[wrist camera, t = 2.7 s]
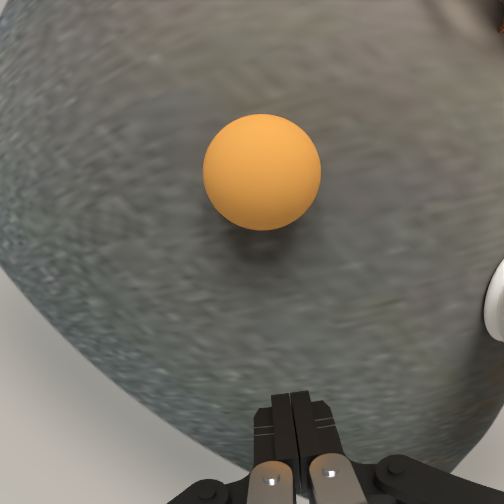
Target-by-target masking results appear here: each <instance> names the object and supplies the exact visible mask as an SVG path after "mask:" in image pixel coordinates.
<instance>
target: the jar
mask: <svg viewBox="0 0 504 504" xmlns="http://www.w3.org/2000/svg"><path fill="white" fill-rule="evenodd" d="M484 320H485V325H486V328H487V331H488V332H489V334H490V335H491V336H492V337H493V338H494V339H496V340H498V341H503V342H504V259H503V260H502V262H501V263H500V265H499V266H498V268H497V269H496V271H495V273H494V275H493V277H492V279H491V282H490V284H489V287H488V291H487V294H486V298H485V305H484Z"/></svg>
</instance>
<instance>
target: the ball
mask: <svg viewBox="0 0 504 504" xmlns="http://www.w3.org/2000/svg"><path fill="white" fill-rule="evenodd" d="M203 180H204V186H205V189H206V192H207V195H208V197H209V199H210V201H211V202H212V204H213V205H214V207H215V208H216V209H217V210H218V211H219V213H221V214H222V215H223V216H224V217H225V218H226V219H228V220H229V221H231V222H232V223H234V224H236V225H238V226H241V227H244V228H247V229H252V230H272V229H277V228H280V227H283V226H286V225H288V224H290V223H292V222H293V221H295V220H297V219H298V218H299V217H300V216H302V215H303V214H304V213H305V212H306V210H307V209H308V208H309V207H310V205H311V204H312V202H313V201H314V199H315V197H316V195H317V192H318V189H319V185H320V180H321V165H320V159H319V156H318V153H317V150H316V148H315V146H314V144H313V142H312V141H311V139H310V138H309V137H308V135H307V134H306V133H305V132H304V131H303V130H302V129H301V128H300V127H298V126H297V125H295V124H294V123H292V122H290V121H289V120H287V119H284V118H281V117H278V116H274V115H268V114H255V115H249V116H245V117H242V118H239V119H237V120H235V121H233V122H231V123H230V124H228V125H227V126H225V127H224V128H223V129H222V130H221V131H220V132H219V133H218V134H217V135H216V136H215V138H214V139H213V140H212V142H211V144H210V145H209V147H208V149H207V152H206V155H205V159H204V163H203Z"/></svg>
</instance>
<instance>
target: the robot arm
mask: <svg viewBox="0 0 504 504" xmlns="http://www.w3.org/2000/svg"><path fill="white" fill-rule="evenodd" d="M290 398H291V404H290ZM271 402H272V407H269V408H259V409H258V411H257V413H256V415H255V416H254V466H253V469H252V471H251V472H250V473H249V475H247V476H246V477H245V478H243V479H242V480H239V481H236V482H233V483H229V484H223V483H222V482H220V481H217V480H213V479H204V480H200V481H198V482H195V483H194V484H192V485H191V486H190V487H188V488H187V489H186V490H185V491H183V492H182V493H181V494H179V495H178V496H176V497H175V498H174V499H173V500H171V501H170V502H168V503H167V504H296V494H297V493H300V482H301V489H302V493H304V492H308V495H309V503H310V504H504V492H502V491H499V490H496V489H493V488H490V487H486V486H483V485H480V484H477V483H474V482H471V481H468V480H466V479H463V478H460V477H457V476H454V475H452V474H449V473H447V472H444V471H441V470H439V469H436V468H434V467H431V466H429V465H426V464H424V463H421V462H419V461H417V460H414V459H412V458H409V457H407V456H404V455H391V456H388V457H385V458H384V459H382V460H381V461H380V462H379V463H378V464H359V463H356V462H353V461H351V460H350V459H348V458H347V457H346V456H345V454H344V452H343V449H342V445H341V442H340V439H339V435H338V432H337V429H336V426H335V422H334V419H333V416H332V412H331V409H330V407H329V406H328V405H327V404H326V403H325V402H324V401H323V400H322V401H315V402H311V400H310V396H309V392H308V390H307V391H300V392H292V393H290V397H289V393H285V394H276V395H271ZM299 475H300V477H299Z"/></svg>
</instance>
